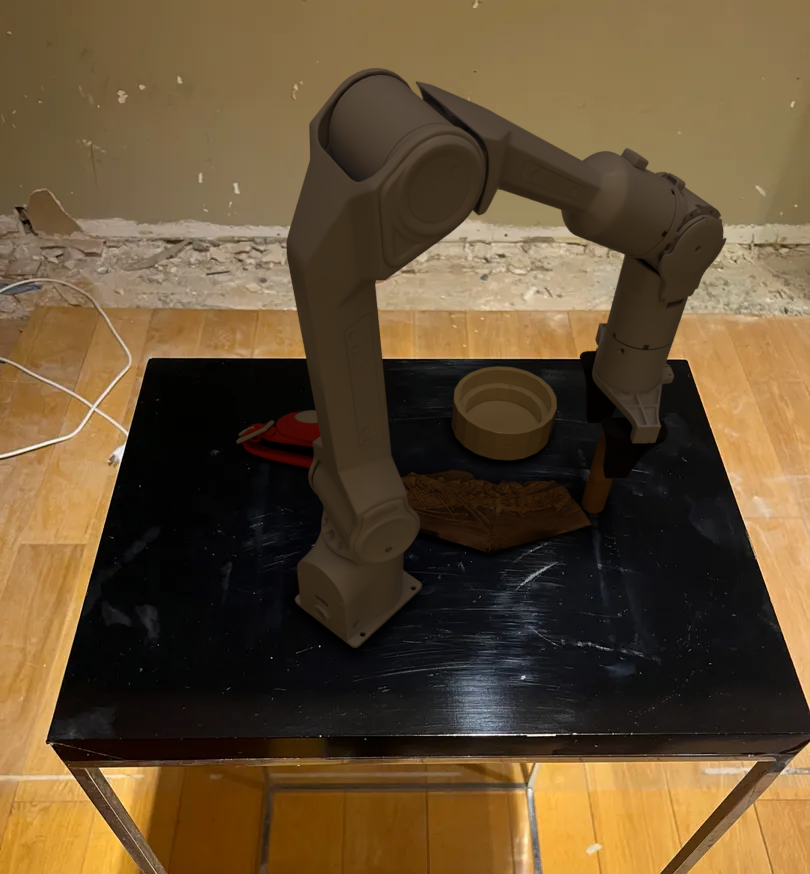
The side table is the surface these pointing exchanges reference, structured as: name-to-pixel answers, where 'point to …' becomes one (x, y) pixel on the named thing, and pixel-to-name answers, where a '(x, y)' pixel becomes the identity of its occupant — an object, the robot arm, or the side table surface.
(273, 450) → the tracker holder
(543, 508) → the wooden fragment
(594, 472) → the stick
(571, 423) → the side table surface
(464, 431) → the bowl
